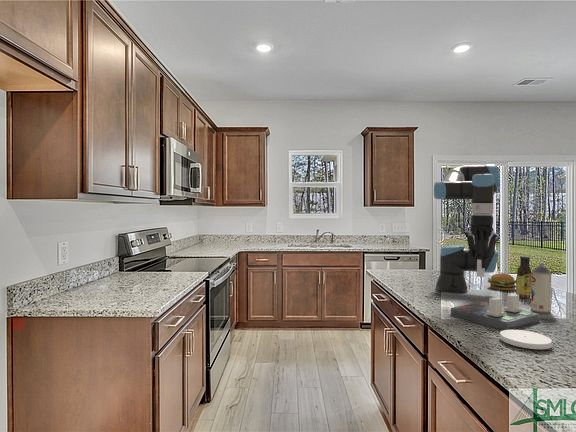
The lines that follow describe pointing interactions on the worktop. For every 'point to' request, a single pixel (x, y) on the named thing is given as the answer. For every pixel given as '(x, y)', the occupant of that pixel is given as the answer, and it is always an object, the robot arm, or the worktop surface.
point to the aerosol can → (541, 290)
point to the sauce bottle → (524, 278)
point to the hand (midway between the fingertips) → (480, 276)
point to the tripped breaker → (495, 307)
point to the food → (502, 282)
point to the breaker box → (505, 322)
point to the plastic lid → (526, 339)
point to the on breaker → (512, 303)
